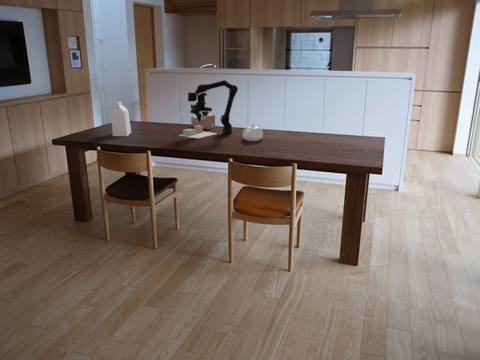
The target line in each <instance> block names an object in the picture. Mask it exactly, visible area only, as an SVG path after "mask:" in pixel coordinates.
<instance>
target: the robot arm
mask: <svg viewBox="0 0 480 360" xmlns="http://www.w3.org/2000/svg"><path fill="white" fill-rule="evenodd" d="M221 87H225V88H227V89H228V98H227V101H226V106H225V109H224V113H223V114H221V116H220V123H221V124H222V125H223V127H222V135H226V136H230V135H233V125H232V124H231V123H230V113H231V110H232V107H233V103H234V99H235V96H236V94H237V93H238V90H239V89H238V86H237V85H235V84H231V83H230V82H228V81H227V80H225V79H223V80H221V81H216V82H212V83H204V84H198V85H197V87H196V90H195V91H194V92H187V102H196V101H197V102H196V104H194V103H193V104H190V114H194V115H195V116H197V119H198V121H199V122H200V119H201V114H203V115H204V116H207V115H208V114H210V112H213V109H212V107H208V106H206V104H207V102H206V97H205V96H208V94H207V91H209V90H211V89H217V88H221Z"/></svg>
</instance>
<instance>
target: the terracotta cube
mask: <svg viewBox="0 0 480 360" xmlns="http://www.w3.org/2000/svg"><path fill="white" fill-rule="evenodd" d="M193 129H195V131H196V133H201V132H203V131H204V128H203V126H200V125H197V126H194V127H193Z"/></svg>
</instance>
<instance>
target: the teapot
mask: <svg viewBox="0 0 480 360" xmlns="http://www.w3.org/2000/svg"><path fill="white" fill-rule="evenodd" d="M242 137H243V139H244V140H246V141H248V142H259V141H260V140H261V139H262V138H263V137H264V133H263V130H262V127H261V124H258V125H256V124H255V123H251V125H246V126H245V128H244V129H243V131H242Z"/></svg>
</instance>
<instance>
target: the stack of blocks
mask: <svg viewBox="0 0 480 360" xmlns="http://www.w3.org/2000/svg"><path fill="white" fill-rule="evenodd" d="M201 115H203V114H202V113H201ZM190 121H191V123H190V124H191V128H194V126H197V125H200V126H203V130H204V129H205V130H206V129H207V130H214V129H215V128H216V114H211V113H208V115H207V116H206V122H204V123H199V122H197V116H196V115H195V116H190Z"/></svg>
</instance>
